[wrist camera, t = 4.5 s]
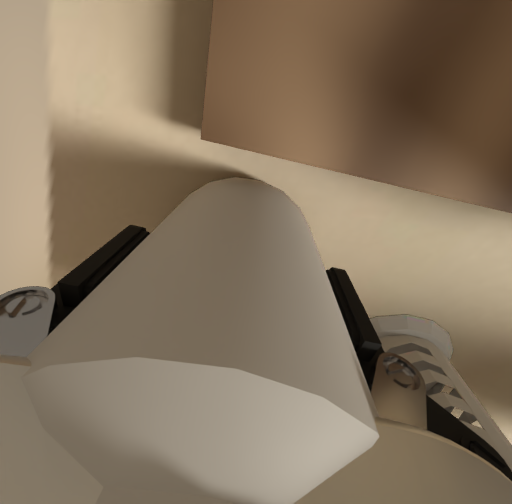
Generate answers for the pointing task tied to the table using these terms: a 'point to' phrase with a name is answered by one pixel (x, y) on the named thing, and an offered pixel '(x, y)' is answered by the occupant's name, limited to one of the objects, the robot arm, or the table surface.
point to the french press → (439, 372)
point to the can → (209, 361)
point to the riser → (369, 90)
